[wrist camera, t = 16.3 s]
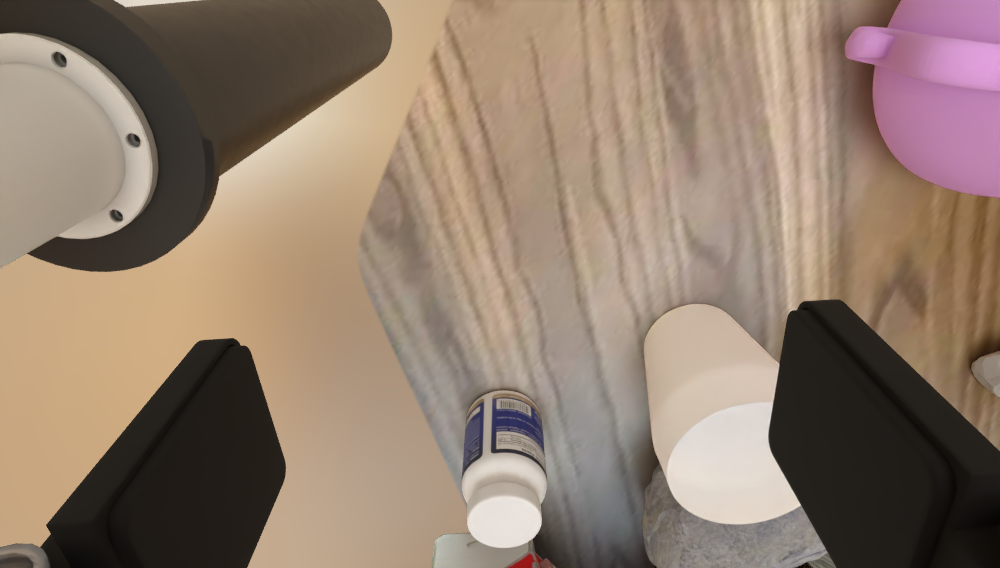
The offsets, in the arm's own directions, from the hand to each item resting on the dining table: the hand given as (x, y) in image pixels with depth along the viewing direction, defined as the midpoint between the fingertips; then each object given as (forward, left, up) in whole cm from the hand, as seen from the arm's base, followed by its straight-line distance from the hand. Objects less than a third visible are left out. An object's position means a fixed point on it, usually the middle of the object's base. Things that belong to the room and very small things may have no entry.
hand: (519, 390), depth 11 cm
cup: (+12, -17, -28) cm, 35 cm away
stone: (+16, -31, -19) cm, 40 cm away
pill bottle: (-2, -24, -28) cm, 37 cm away
